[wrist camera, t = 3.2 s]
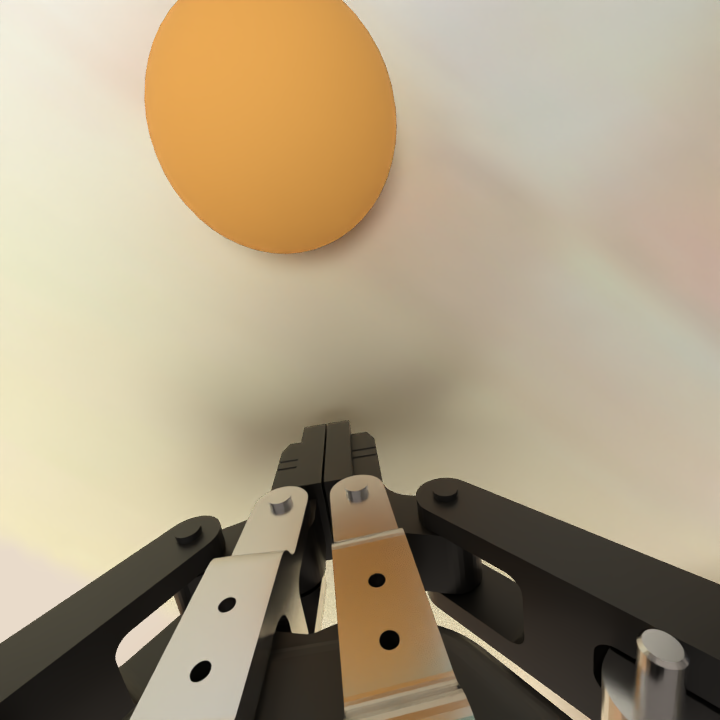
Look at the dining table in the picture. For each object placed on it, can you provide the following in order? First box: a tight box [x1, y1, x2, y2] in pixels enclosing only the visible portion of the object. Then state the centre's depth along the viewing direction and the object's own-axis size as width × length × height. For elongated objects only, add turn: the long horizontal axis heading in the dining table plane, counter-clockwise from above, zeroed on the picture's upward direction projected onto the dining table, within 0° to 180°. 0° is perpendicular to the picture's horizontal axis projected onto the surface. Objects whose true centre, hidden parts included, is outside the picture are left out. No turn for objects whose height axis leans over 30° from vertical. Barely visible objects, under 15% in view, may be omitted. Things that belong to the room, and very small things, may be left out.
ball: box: [145, 0, 397, 254], centre depth 10 cm, size 6×6×6 cm
